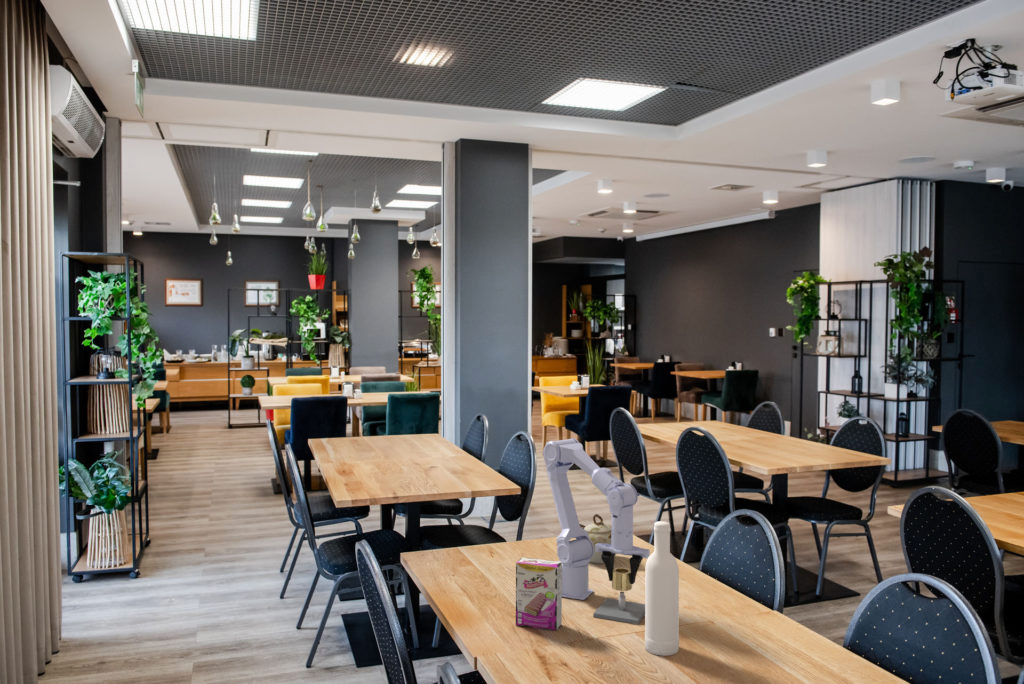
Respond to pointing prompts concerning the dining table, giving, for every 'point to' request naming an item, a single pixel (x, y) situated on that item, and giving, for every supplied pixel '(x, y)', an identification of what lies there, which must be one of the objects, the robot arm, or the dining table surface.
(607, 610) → the stand
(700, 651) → the dining table surface
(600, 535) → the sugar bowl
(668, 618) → the bottle
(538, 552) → the dining table surface
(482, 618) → the dining table surface
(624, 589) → the collar
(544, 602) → the candy bar box
